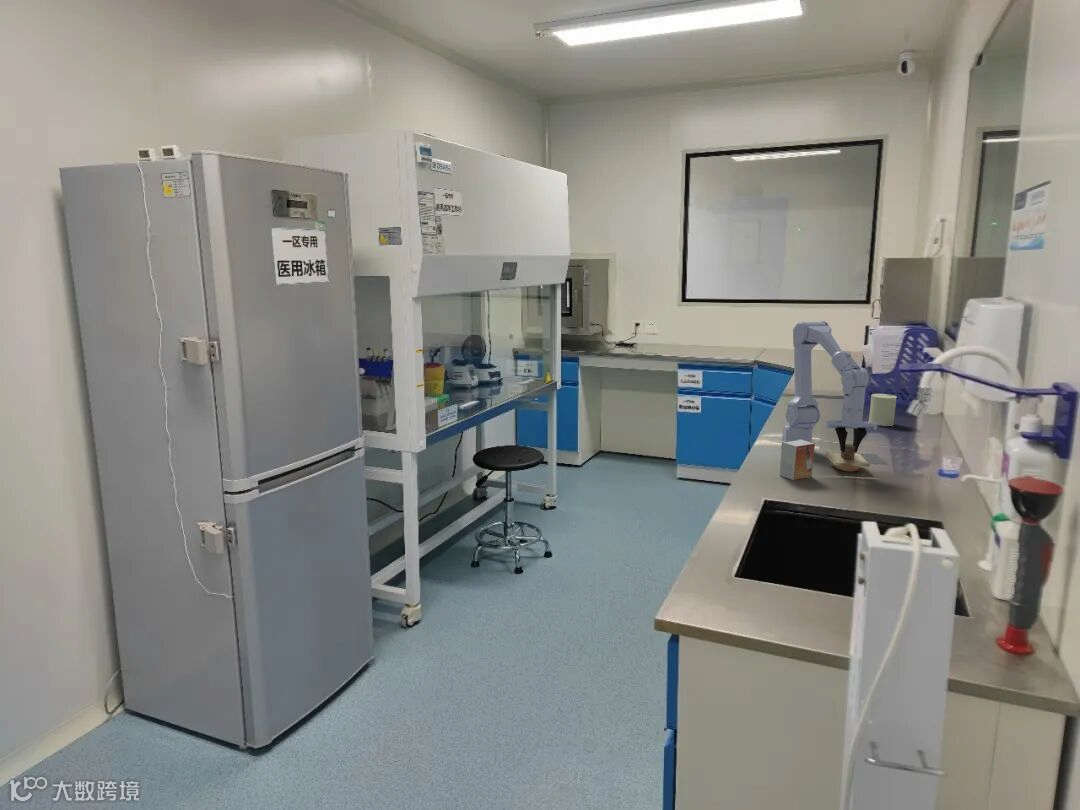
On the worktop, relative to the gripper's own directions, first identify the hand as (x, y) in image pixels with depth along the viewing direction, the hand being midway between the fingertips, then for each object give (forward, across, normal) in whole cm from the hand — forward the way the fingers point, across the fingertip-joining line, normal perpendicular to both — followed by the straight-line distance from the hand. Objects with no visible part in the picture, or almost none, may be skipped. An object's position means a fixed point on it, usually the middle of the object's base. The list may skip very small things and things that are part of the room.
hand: (848, 451), depth 212 cm
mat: (+6, +8, +13) cm, 16 cm away
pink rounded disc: (+6, 0, 0) cm, 6 cm away
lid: (+3, 0, 0) cm, 3 cm away
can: (+6, +33, +67) cm, 75 cm away
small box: (+6, -17, -8) cm, 20 cm away
